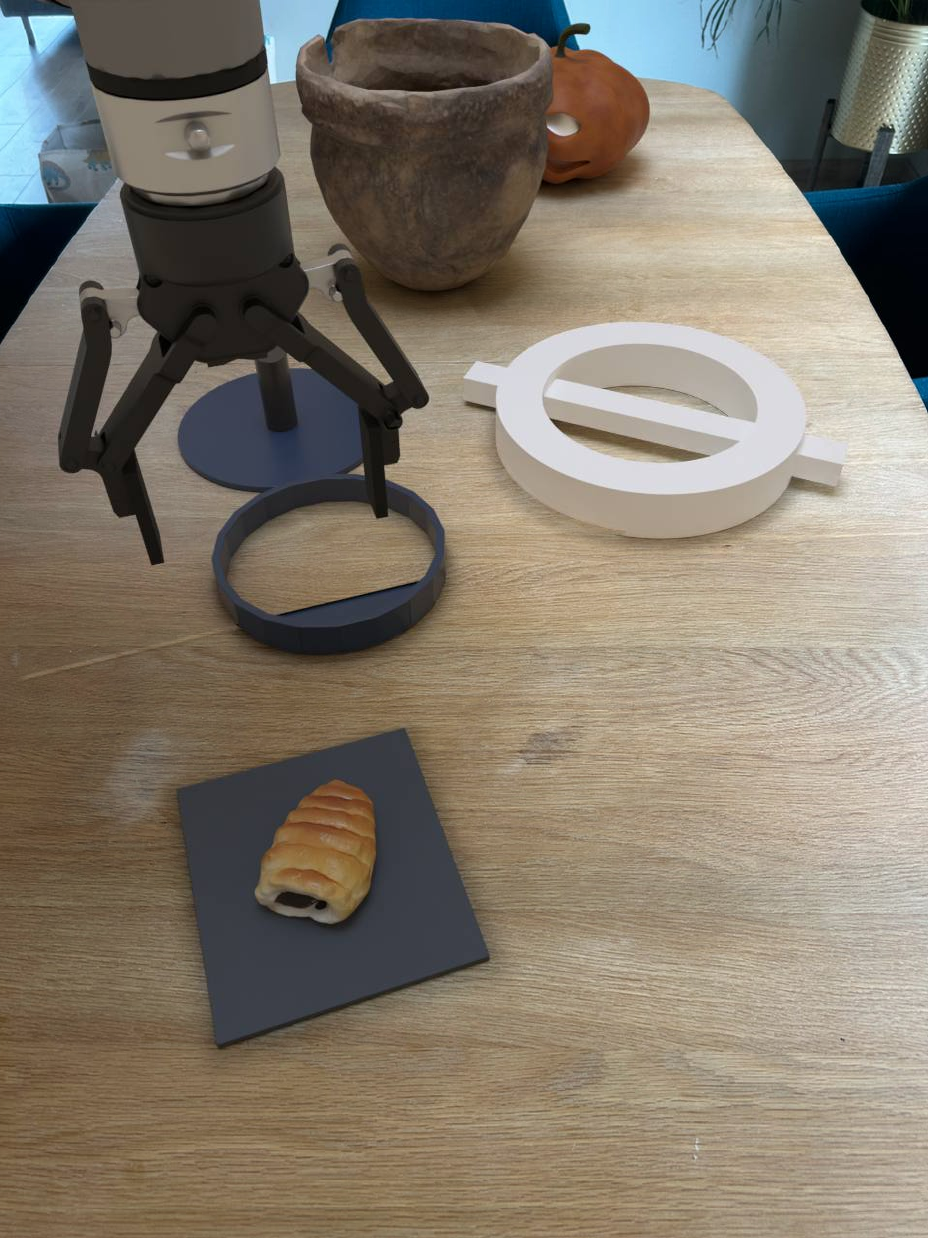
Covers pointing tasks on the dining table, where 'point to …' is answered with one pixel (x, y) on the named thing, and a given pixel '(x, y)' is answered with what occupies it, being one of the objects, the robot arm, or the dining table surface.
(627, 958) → the dining table surface
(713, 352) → the white circle with bar
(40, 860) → the dining table surface
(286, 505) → the dark blue ring
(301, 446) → the lid
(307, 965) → the mat
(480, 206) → the clay pot
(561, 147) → the pumpkin
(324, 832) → the pastry
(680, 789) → the dining table surface
